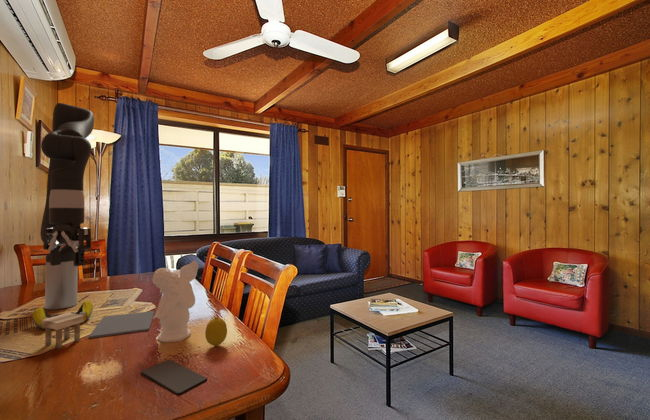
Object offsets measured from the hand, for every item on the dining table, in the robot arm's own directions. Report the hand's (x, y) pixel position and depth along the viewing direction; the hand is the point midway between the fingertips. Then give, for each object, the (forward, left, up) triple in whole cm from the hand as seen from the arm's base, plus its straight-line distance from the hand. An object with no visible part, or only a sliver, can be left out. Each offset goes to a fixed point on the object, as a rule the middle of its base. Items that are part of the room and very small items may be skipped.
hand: (67, 265), depth 85 cm
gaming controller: (-18, -5, -22) cm, 29 cm away
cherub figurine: (+5, +27, -21) cm, 35 cm away
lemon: (+19, +37, -21) cm, 47 cm away
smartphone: (+31, +27, -22) cm, 47 cm away
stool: (0, -1, -21) cm, 21 cm away
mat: (-10, +12, -21) cm, 26 cm away
